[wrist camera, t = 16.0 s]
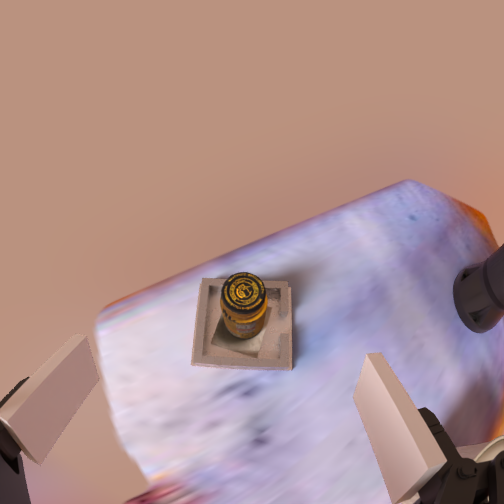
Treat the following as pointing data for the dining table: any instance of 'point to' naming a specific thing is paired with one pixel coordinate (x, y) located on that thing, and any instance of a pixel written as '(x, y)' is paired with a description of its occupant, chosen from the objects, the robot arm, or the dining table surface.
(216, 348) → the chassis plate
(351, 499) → the dining table surface
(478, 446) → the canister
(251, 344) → the condiment
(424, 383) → the dining table surface
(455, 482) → the robot arm
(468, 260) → the dining table surface
